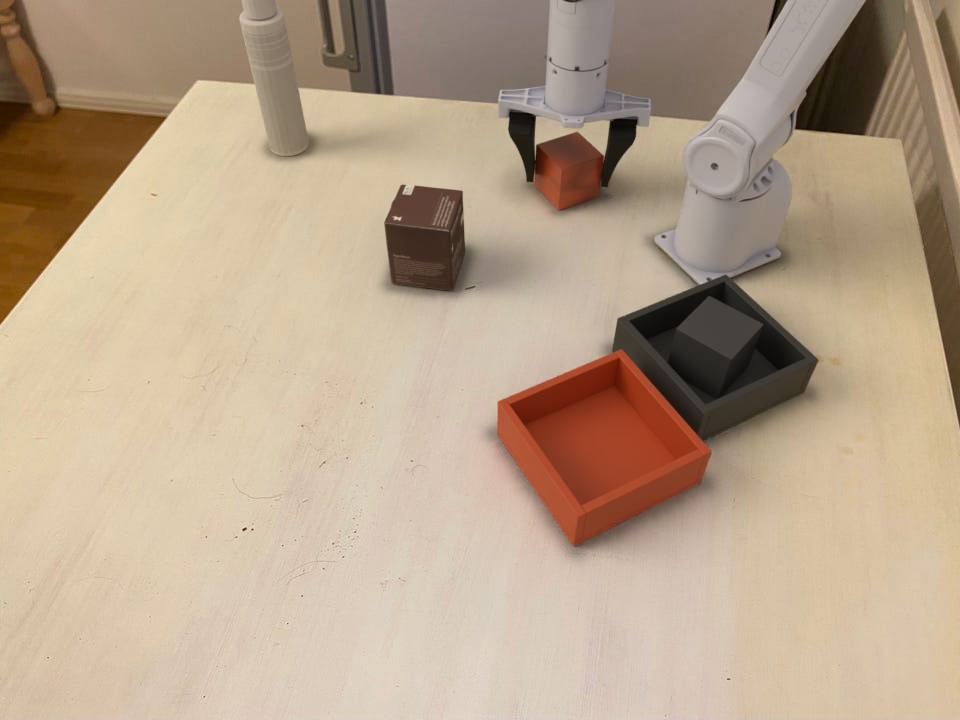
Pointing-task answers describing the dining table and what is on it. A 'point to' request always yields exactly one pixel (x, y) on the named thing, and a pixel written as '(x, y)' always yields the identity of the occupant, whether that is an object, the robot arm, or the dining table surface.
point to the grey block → (714, 346)
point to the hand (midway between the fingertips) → (567, 179)
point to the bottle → (274, 76)
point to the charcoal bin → (760, 387)
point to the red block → (568, 170)
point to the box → (425, 236)
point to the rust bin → (600, 445)
